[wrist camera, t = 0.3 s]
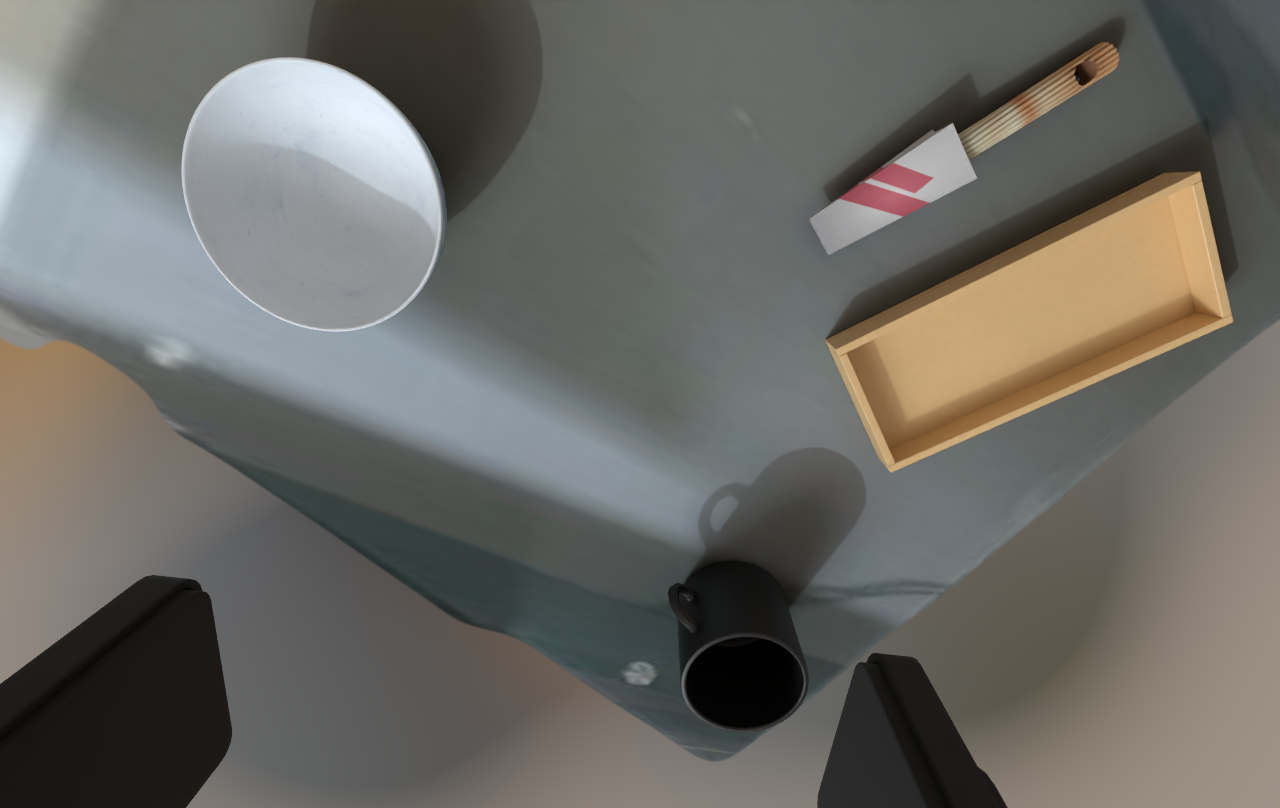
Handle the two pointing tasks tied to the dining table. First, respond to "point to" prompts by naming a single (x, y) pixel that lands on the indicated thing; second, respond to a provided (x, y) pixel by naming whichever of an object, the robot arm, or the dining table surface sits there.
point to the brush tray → (1037, 321)
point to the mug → (738, 648)
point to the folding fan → (948, 156)
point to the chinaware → (313, 194)
